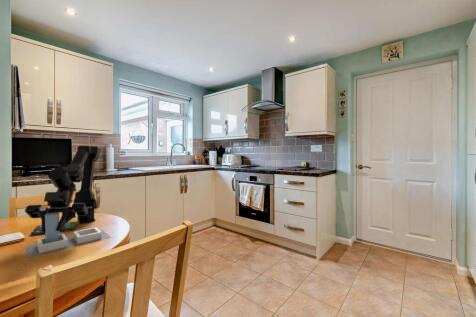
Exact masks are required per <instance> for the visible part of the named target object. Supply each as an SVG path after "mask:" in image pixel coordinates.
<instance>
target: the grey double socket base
mask: <svg viewBox="0 0 476 317" xmlns="http://www.w3.org/2000/svg"><path fill="white" fill-rule="evenodd" d="M111 238H112V237H111V235H109V234H108V233H107V232H106V231H105V230H104V229H99V228H98V227H97V226H94V227H90V228H85V229H80V230H76V231H75V230H73V235H72V236H68V237H67V236H66V234H65V233H61V234H60V233H59V241H55V242H51V243H46V244H45V237H41V238H36V243H35V244H31V245H27V246H25V252H26V255H27V258H28V259H30V258H31V259H32V258H34V257H39V256H43V255H47V254H51V253H55V252H59V251H63V250H68V249H71V248H75V247H79V246H83V245H88V244H91V243H96V242H100V241H104V240H107V239H111Z"/></svg>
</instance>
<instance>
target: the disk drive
mask: <svg viewBox="0 0 476 317" xmlns="http://www.w3.org/2000/svg"><path fill="white" fill-rule="evenodd" d="M77 226H78V221H77V220H76V221H69V222H67V223H66V224H65V225H64V226H63V227H62V228H61V229H60V230H59V233H62V232H70V231H75V230H76V227H77ZM32 230H33V231H31V232H30V236H31V237H32V236H41V235H45V232H42V224H41V225H37V226H36V227H35V228H33V229H32Z"/></svg>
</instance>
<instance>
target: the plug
mask: <svg viewBox="0 0 476 317" xmlns="http://www.w3.org/2000/svg"><path fill="white" fill-rule="evenodd" d="M59 221H60V213H58V212H54V213H48V214H45V234H44V236H45V237H44V238H45V244H46V243H51V242H55V241H59V235H60V232H59V231H57V226H58V224H59Z"/></svg>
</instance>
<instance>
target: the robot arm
mask: <svg viewBox="0 0 476 317" xmlns="http://www.w3.org/2000/svg"><path fill="white" fill-rule="evenodd" d="M101 150H102V149H101V148H100V147H99V146H98V145H88V144H87V145H83V144H82V145H78V146H77V151H76V152H75V154H74V157H73V158H72V160H71V161H70V163H69V164H68V165H67V166H57V167H56V168H54V169H53V170H51V171H50V172H49V173H47V174H48V175H47V177H48V178H49V180H50V181H51V184H52V185H53V186H54V188H57V189H56V191H46V192H45V195H44V199H43V202H47V203H46V205H47V206H42V204H29V205H27V206H26V207H25V209H24V212H25V213H26V214H27V215H28V216H29V218H31V219H41V220H40V221H41V225H42V232H45V214H48V213H54V212H58V213H59V214H60V213H61V217H60V218H59V224H58V226H57V231H59V230H60V229H61V228H62V227H63V226H64V225H65V224H66V223H67V222H71V220H72V219H75V218H76V221H77V223H79V224H85V223H90V222H95V221H96V219H95V210H98V202H97V200H96V199H97V198H95V196H96V195H95V193H94V191H93V190H92V189H93V181H94V172H95V165H96V162H97V161H98V160H99V158H100V155H101V154H102V153H101V152H102V151H101ZM80 182H81V183H80ZM75 183H80V189H79V190H78V191H77V188H76V187H77V186H76V184H75ZM74 193H75V196H74ZM73 197H74V199H73ZM72 202H73V203H72ZM71 203H72V205H71ZM70 205H71V206H70Z"/></svg>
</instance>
